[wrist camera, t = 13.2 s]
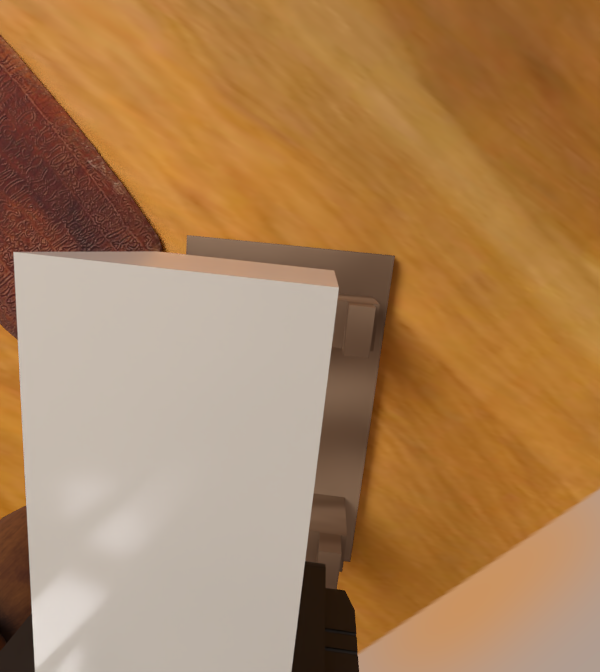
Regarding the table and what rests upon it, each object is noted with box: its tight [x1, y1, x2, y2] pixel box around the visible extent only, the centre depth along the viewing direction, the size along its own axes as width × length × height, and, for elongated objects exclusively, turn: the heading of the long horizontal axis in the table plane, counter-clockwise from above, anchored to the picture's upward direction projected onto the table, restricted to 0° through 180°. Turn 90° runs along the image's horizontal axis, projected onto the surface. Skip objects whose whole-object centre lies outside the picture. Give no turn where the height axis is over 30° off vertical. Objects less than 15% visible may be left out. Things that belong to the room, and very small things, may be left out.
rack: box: [186, 235, 395, 589], centre depth 19 cm, size 17×10×5 cm, turn 175°
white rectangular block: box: [13, 251, 339, 672], centre depth 9 cm, size 16×4×4 cm, turn 174°
